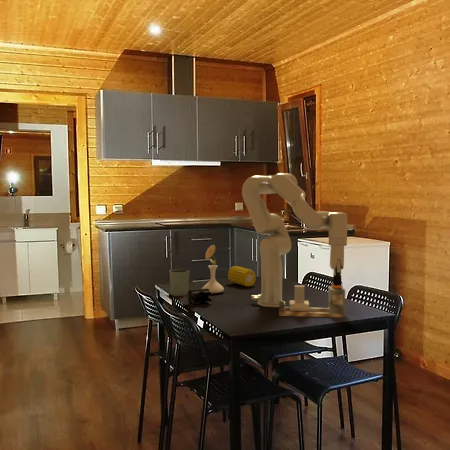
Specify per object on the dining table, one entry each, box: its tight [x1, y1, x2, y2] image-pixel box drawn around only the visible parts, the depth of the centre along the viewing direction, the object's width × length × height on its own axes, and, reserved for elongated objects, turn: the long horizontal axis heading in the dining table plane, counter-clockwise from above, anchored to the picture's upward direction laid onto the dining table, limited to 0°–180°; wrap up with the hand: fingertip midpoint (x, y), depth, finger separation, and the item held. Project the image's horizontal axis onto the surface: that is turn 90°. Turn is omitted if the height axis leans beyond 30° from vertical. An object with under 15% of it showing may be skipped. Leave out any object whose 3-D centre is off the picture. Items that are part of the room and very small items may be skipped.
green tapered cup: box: [168, 268, 191, 297], centre depth 258 cm, size 10×10×12 cm
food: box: [227, 265, 257, 288], centre depth 283 cm, size 15×12×10 cm
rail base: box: [278, 285, 346, 318], centre depth 218 cm, size 27×8×12 cm, turn 84°
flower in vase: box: [201, 244, 225, 294], centre depth 261 cm, size 13×11×25 cm
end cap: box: [186, 288, 213, 307], centre depth 237 cm, size 10×7×7 cm
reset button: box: [331, 283, 343, 289], centre depth 217 cm, size 4×4×1 cm
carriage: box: [289, 284, 310, 311], centre depth 219 cm, size 8×7×10 cm
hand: (337, 284), depth 217 cm, fingers closed
